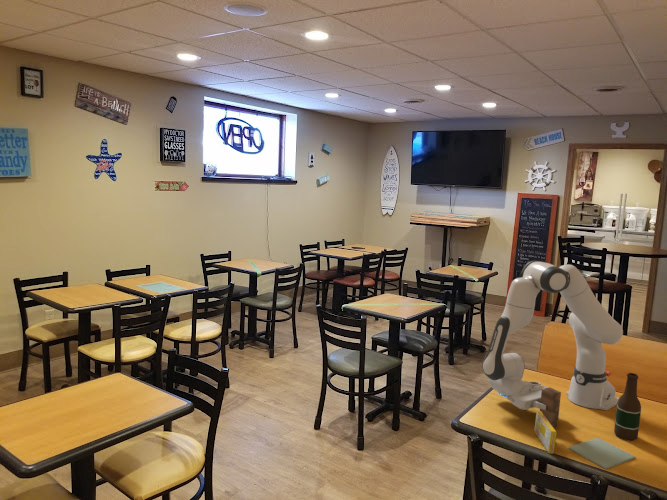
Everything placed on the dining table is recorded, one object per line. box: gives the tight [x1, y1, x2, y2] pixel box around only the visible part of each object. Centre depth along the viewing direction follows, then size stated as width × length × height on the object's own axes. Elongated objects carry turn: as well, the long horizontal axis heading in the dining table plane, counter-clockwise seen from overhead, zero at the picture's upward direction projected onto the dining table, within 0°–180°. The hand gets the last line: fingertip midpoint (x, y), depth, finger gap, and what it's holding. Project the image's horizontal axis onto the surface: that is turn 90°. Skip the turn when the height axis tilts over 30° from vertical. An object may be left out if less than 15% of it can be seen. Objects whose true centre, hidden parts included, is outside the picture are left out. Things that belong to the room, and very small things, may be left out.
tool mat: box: [568, 437, 636, 470], centre depth 175 cm, size 16×14×1 cm
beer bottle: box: [613, 372, 642, 442], centre depth 186 cm, size 8×8×24 cm
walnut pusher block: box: [539, 387, 562, 429], centre depth 193 cm, size 4×5×14 cm
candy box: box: [533, 410, 557, 455], centre depth 181 cm, size 16×2×8 cm, turn 176°
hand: (551, 406), depth 193 cm, fingers closed on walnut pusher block, 4 cm apart
